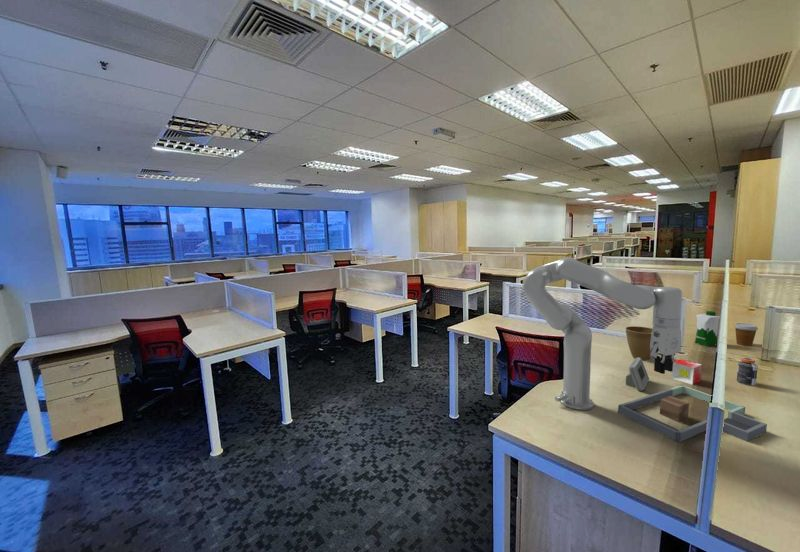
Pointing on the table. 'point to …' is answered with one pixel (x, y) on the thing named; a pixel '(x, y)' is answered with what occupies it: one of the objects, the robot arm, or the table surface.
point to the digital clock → (637, 375)
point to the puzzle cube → (686, 371)
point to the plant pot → (639, 341)
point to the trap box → (732, 425)
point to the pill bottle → (747, 371)
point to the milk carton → (707, 328)
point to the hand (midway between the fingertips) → (663, 370)
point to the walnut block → (674, 408)
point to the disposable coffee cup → (745, 333)
